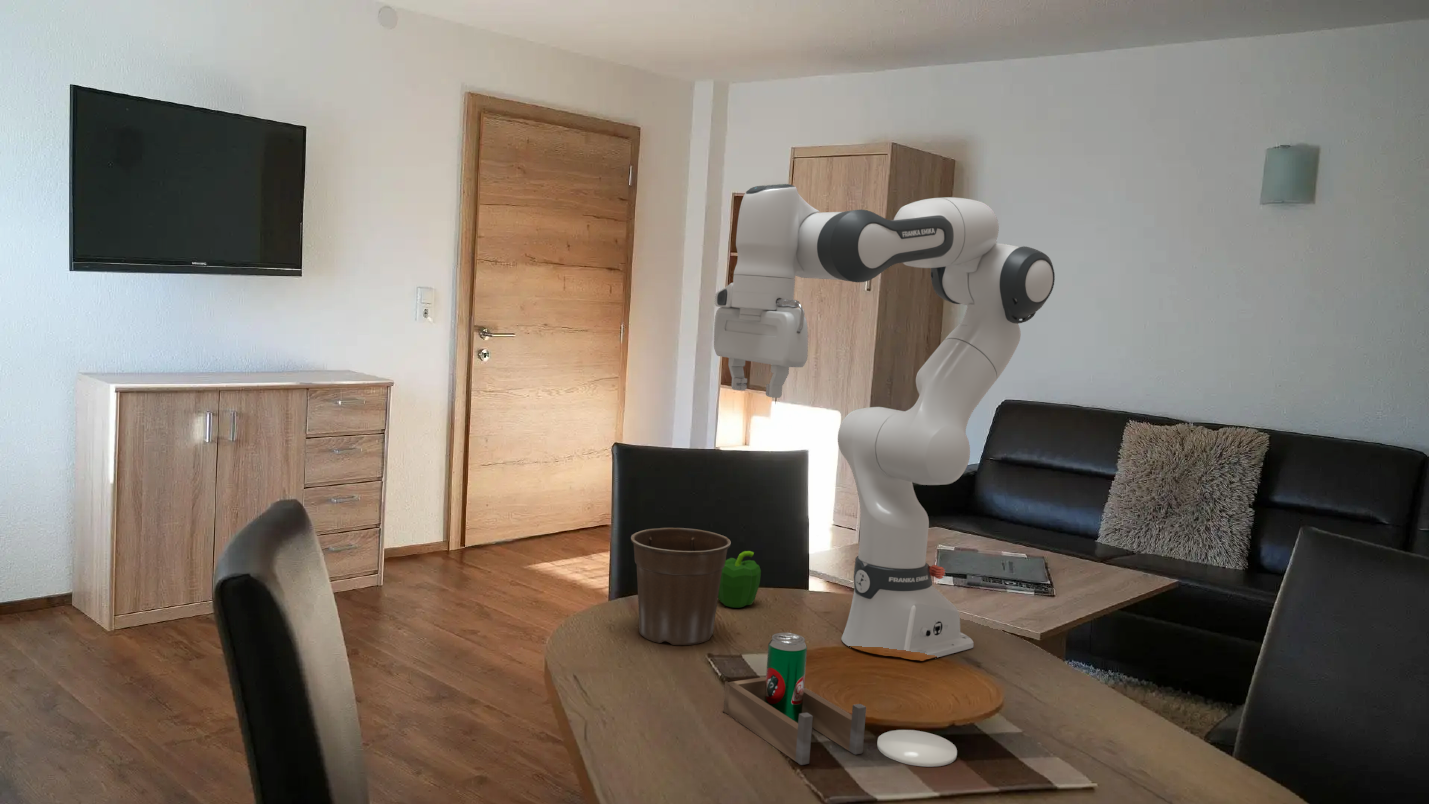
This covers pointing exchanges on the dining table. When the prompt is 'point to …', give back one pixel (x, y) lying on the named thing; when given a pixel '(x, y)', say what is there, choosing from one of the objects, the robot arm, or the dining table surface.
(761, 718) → the dispenser
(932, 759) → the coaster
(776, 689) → the soda can
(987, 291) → the robot arm
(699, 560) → the plant pot
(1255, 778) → the dining table surface
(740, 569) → the bell pepper
